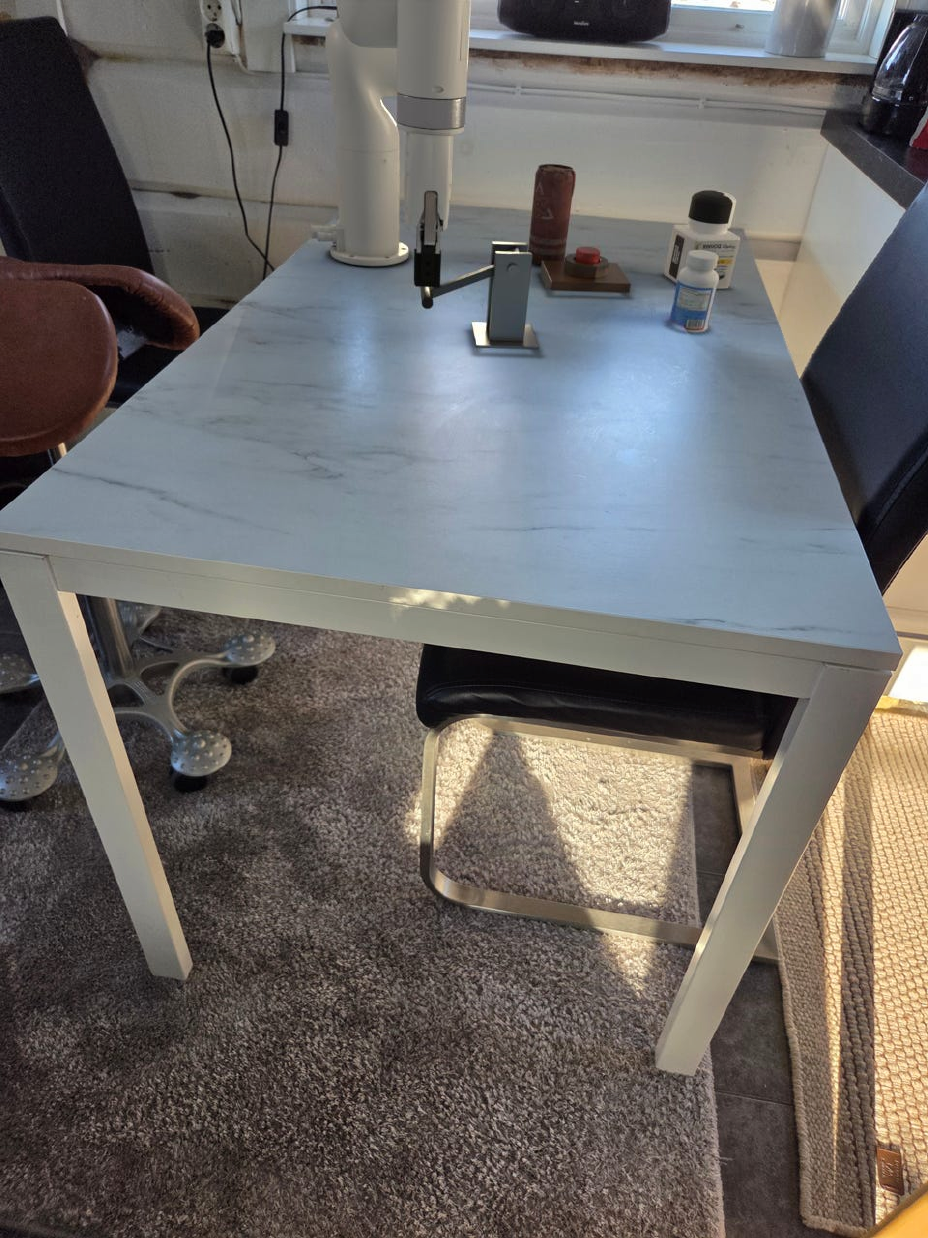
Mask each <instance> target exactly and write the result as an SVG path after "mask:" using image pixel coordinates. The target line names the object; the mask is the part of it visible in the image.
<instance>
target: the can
mask: <svg viewBox="0 0 928 1238" xmlns="http://www.w3.org/2000/svg"><path fill="white" fill-rule="evenodd" d="M534 175H535V176H534V185H533V196H532V206H531V216H530V226H529V236H528V251H527V252H530V253H532V265H535V266H540V267H541V265H542V261H565V257H566V250H567V242H568V235H569V225H570V219H571V218H570V217H571V212H572V211H571V210H572V202H573V198H574V193H575V189H576V180H577V179H576V178H577V173H576V171H575V170H574V168H573V167H572V166H569V165H565V164H557V163H555V164H554V163H544V164H540V165H539V166H538V167H537V169H536V172H535V174H534Z"/></svg>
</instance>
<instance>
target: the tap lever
mask: <svg viewBox="0 0 928 1238" xmlns="http://www.w3.org/2000/svg"><path fill="white" fill-rule="evenodd" d="M506 252H519V249H518V247H517V248H514V249H511V250H509V251H506ZM493 275H494V264H492V265H488V266H485V267H482V268H480V269H476V270H473V271H471V272H469V273H466V274H463V275H461V276H458V277H455V278H453V279H450V280H447V281H444V282H442V283H440V286H439V287H419V288H420V289H419V290H420V301H421V306H422V308H424V309H426V310H430V309H432V308H433V306H434V299H435V298H437V297H441V296H443V295H445V294H449V293H451V292H453V291H456V290H459V289H462V288H464V287H467V286H470V285H472V284H475V283H478V282H481V281H483V280H485V279H489V277H491V276H493Z"/></svg>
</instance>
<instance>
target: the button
mask: <svg viewBox="0 0 928 1238" xmlns="http://www.w3.org/2000/svg"><path fill="white" fill-rule="evenodd" d="M575 253H576V257H575V261H577V262H580V263H585V264H596V263H599V258H600V256H601V250H600V249H599V248H597V247H592V246H579V247H576V251H575Z"/></svg>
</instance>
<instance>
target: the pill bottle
mask: <svg viewBox="0 0 928 1238" xmlns="http://www.w3.org/2000/svg"><path fill="white" fill-rule="evenodd" d="M686 262H687V265H688V266H687V267H685V268H683V269H682V270H681V271H680V273H679V276H678V281H677V284H676V287H675V291H674V296H673V301H672V305H671V310H670V315H669V320H670V321H671V322H672V323H674V324H676V325H679V326H681V327H683V328H684V329H685V331H686V333H688V334H689V333H690V334H694V333H695V334H696V333H702V332H705V331H706V330H707V329H708V327H709V324H710V320H711V314H712V312H713V311H712V310H713V306H714V302H715V298H716V294H717V290H718V289H717V285H718V281H719V275H718V273H717V272H716V271H714V269H715V268H716V266H717V262H718V255H717V254H716V253H714V252H710V251H705V250H692V251H690V252H689V253H688V257H687V260H686Z"/></svg>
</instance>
